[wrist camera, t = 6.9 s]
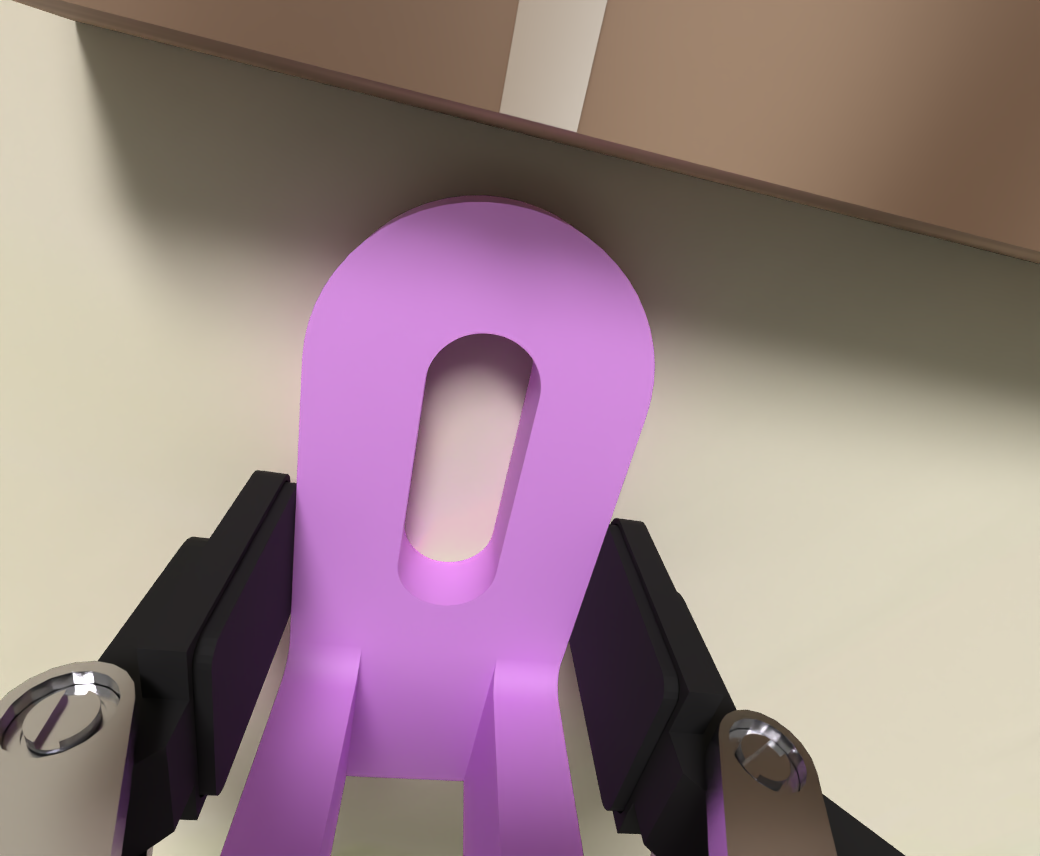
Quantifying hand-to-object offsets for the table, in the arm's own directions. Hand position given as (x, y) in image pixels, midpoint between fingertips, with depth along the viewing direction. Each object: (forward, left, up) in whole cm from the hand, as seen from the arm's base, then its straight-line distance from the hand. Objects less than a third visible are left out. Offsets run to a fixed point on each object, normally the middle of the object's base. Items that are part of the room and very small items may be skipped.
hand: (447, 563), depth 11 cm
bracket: (0, 0, -1) cm, 1 cm away
